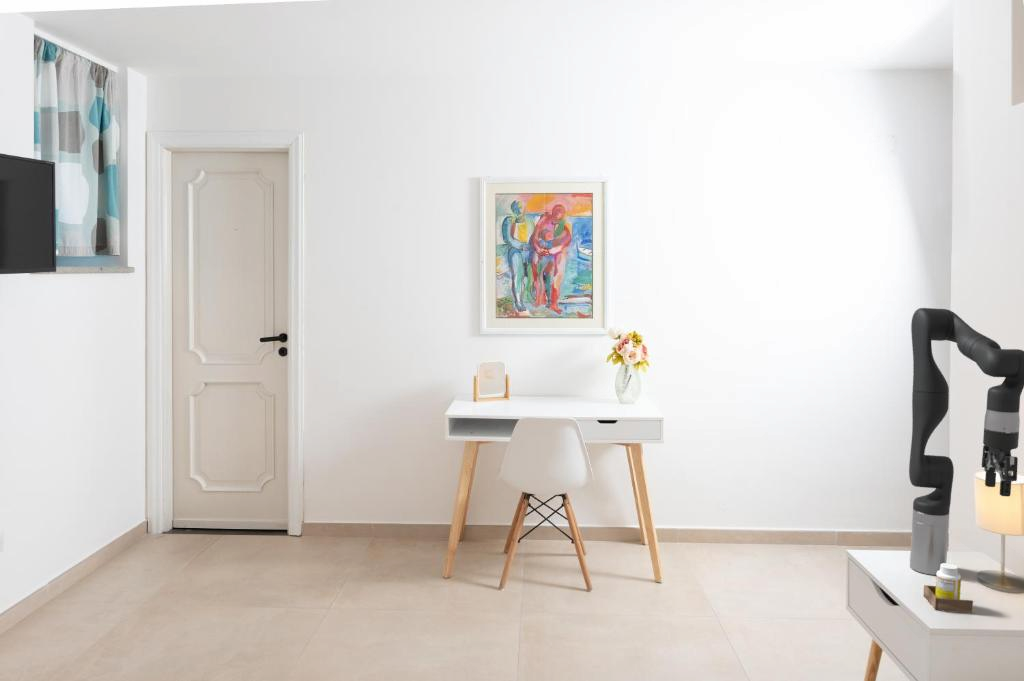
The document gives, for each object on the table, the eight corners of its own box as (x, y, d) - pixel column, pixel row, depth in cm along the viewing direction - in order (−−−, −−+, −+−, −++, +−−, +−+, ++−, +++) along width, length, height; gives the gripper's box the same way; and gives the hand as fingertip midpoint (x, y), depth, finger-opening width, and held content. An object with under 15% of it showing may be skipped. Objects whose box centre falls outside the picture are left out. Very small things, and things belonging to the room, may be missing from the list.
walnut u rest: (923, 596, 207) (924, 585, 207) (958, 598, 206) (959, 587, 206) (935, 610, 199) (936, 598, 199) (972, 612, 197) (972, 601, 197)
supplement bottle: (950, 599, 206) (952, 561, 205) (964, 608, 200) (966, 569, 199) (930, 600, 205) (932, 562, 204) (943, 609, 199) (946, 570, 199)
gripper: (973, 422, 205) (969, 483, 207) (997, 433, 191) (993, 498, 193) (1005, 423, 204) (1000, 484, 205) (1031, 434, 190) (1026, 500, 191)
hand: (997, 491), depth 199 cm, fingers open, 8 cm apart
